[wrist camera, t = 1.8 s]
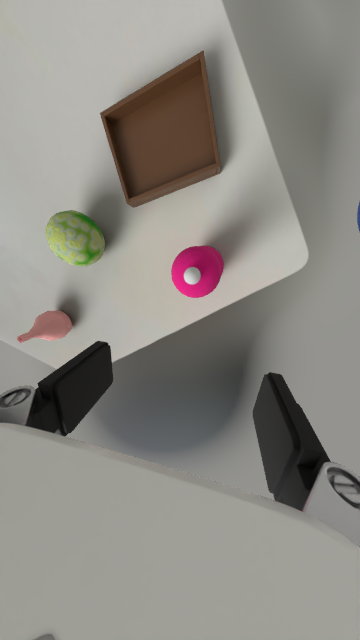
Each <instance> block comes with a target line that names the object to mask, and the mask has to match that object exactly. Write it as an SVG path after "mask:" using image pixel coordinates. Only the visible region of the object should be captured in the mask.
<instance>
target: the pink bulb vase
mask: <svg viewBox="0 0 360 640" xmlns="http://www.w3.org/2000/svg"><path fill="white" fill-rule="evenodd" d="M71 328H72V323H71V320H70V318H69V317H68V316H67V315H66V314H65V313H64V312H61V311H47V312H45V313H43V314H41V315H39V316H38V317H37V318H36V319H35V322H34V326H33V327H32V329H31V330H30V331H29V332H28V333H25V334H23V335H20V336H18V337H17V340H18V341H19V342H20V343H22V342H24V341H27V340H29V339H31V338H43V339H46V340H52V341H53V340H56V339H60V338H62V337H64V336H65V335H66V334H67V333H68V332H69V331H70V330H71Z"/></svg>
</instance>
